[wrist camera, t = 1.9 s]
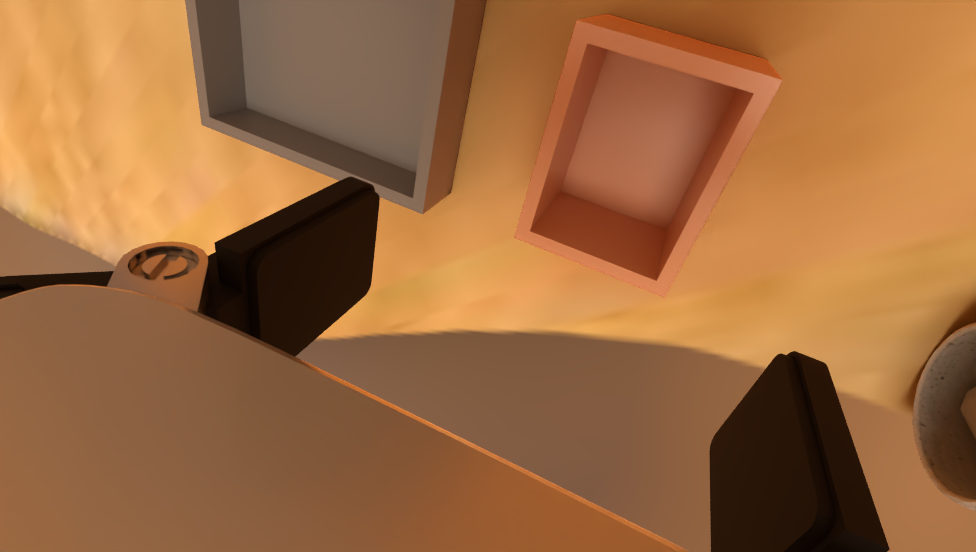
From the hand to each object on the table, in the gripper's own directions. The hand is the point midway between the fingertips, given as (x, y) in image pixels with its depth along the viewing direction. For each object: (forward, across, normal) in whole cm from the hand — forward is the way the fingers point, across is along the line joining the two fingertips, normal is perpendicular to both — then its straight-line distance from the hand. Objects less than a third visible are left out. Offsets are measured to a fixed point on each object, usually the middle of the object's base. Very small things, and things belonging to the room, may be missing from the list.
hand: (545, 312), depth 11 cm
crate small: (+16, 0, -1) cm, 16 cm away
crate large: (+16, +17, -1) cm, 23 cm away
